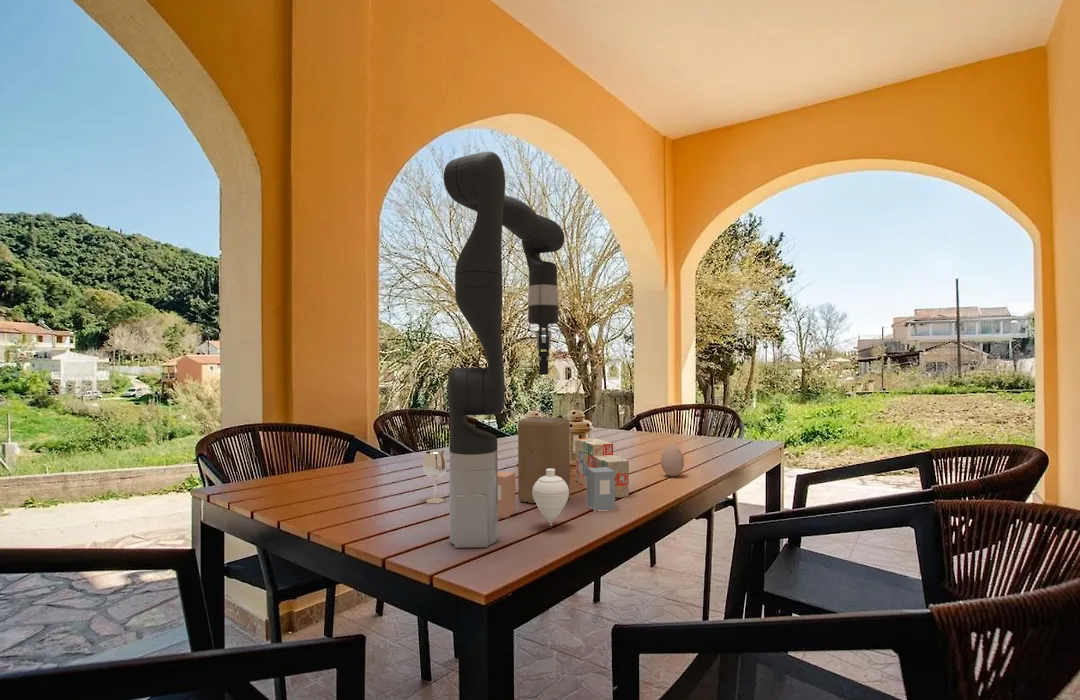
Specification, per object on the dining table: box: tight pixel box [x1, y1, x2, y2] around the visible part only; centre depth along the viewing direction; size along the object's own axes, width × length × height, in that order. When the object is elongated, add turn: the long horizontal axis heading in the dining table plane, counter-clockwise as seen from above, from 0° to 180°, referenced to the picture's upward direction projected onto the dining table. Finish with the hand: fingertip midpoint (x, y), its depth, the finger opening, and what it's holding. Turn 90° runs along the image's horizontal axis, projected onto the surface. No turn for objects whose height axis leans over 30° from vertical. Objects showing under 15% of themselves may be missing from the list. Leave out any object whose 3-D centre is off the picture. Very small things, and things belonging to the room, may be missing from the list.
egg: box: [660, 444, 685, 477], centre depth 163 cm, size 7×7×9 cm
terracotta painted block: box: [497, 470, 516, 519], centre depth 125 cm, size 5×5×9 cm
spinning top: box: [532, 468, 570, 527], centre depth 115 cm, size 8×8×12 cm
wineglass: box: [422, 450, 448, 504], centre depth 137 cm, size 6×6×12 cm
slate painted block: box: [586, 467, 616, 511], centre depth 129 cm, size 5×5×9 cm
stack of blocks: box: [574, 437, 630, 498], centre depth 149 cm, size 21×6×12 cm, turn 18°
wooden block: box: [517, 416, 571, 504], centre depth 137 cm, size 10×10×20 cm
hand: (543, 374), depth 137 cm, fingers closed
